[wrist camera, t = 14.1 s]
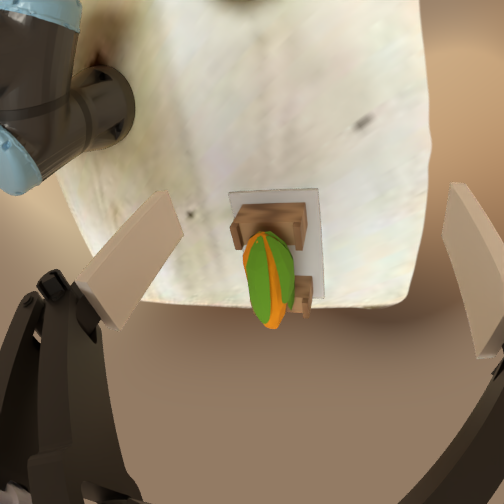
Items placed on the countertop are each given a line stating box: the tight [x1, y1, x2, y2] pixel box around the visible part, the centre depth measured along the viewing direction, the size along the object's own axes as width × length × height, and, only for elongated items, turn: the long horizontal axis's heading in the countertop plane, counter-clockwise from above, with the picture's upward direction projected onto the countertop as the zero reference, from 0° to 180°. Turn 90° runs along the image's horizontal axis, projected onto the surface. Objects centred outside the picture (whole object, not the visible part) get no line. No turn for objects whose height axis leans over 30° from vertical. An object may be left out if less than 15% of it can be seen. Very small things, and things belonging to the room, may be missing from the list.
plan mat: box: [228, 188, 324, 299], centre depth 52 cm, size 14×23×1 cm, turn 11°
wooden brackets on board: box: [230, 202, 313, 318], centre depth 49 cm, size 10×19×7 cm, turn 11°
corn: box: [243, 231, 295, 329], centre depth 45 cm, size 7×8×20 cm
